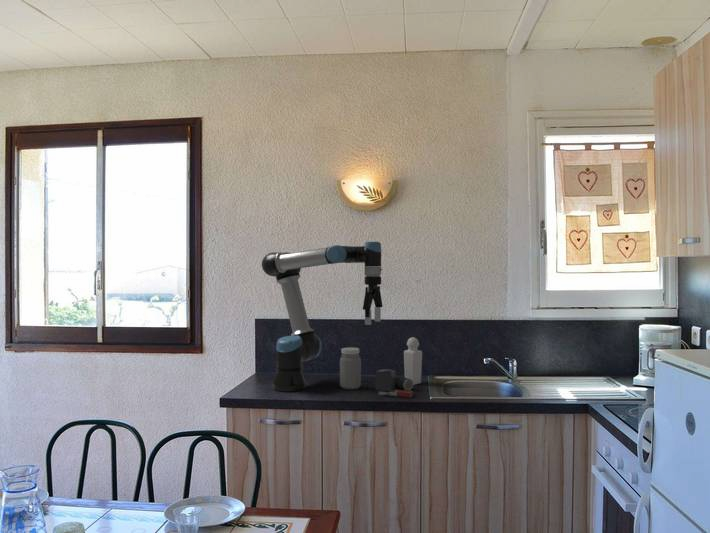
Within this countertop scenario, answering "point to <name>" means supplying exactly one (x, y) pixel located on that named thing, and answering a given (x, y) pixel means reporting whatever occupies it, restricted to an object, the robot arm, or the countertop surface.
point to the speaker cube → (385, 380)
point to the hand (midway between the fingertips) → (372, 323)
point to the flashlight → (403, 383)
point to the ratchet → (396, 393)
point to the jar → (350, 368)
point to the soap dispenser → (413, 361)
